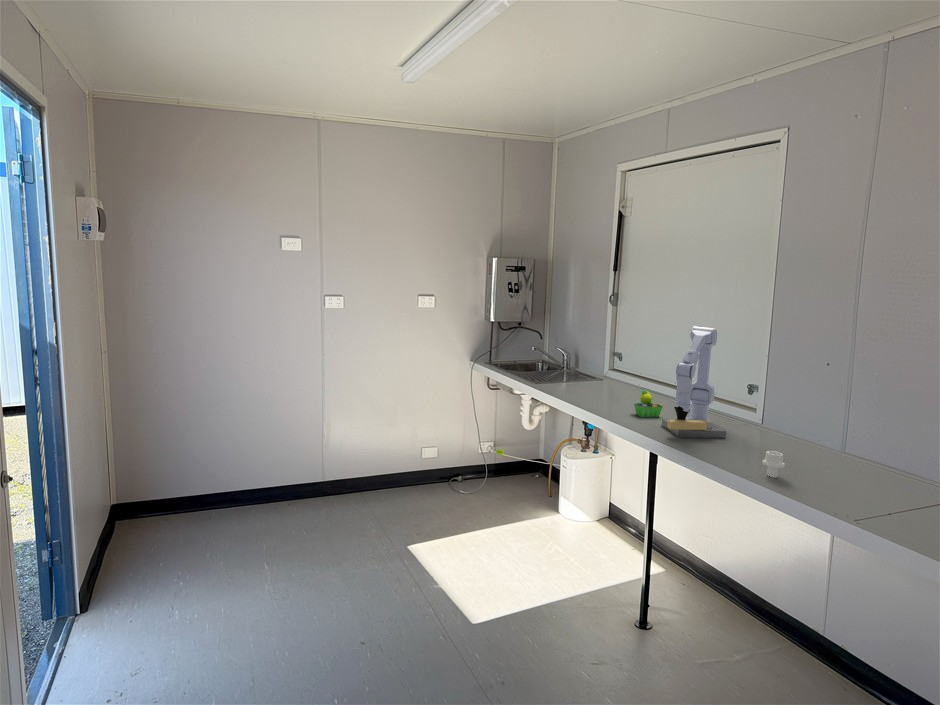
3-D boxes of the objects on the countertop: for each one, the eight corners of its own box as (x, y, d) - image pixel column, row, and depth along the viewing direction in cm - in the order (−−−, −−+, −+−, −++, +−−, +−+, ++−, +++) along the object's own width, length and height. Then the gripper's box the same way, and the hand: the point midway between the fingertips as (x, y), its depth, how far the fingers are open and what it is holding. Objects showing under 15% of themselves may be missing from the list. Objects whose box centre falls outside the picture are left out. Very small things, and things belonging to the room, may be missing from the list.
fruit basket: (640, 418, 286) (642, 393, 285) (631, 413, 295) (633, 389, 293) (662, 417, 289) (665, 393, 287) (653, 412, 297) (655, 389, 296)
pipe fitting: (758, 475, 213) (761, 452, 212) (765, 471, 218) (768, 448, 217) (778, 480, 209) (781, 457, 207) (785, 476, 214) (788, 453, 213)
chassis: (661, 425, 274) (662, 417, 274) (705, 426, 276) (706, 418, 275) (678, 437, 256) (679, 429, 255) (726, 438, 258) (727, 430, 257)
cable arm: (708, 427, 260) (709, 420, 260) (713, 430, 256) (714, 422, 256) (666, 426, 258) (667, 419, 258) (671, 429, 254) (671, 422, 254)
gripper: (698, 396, 250) (694, 429, 252) (689, 389, 264) (686, 420, 266) (680, 395, 251) (676, 428, 253) (672, 388, 265) (669, 419, 267)
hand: (680, 424), depth 260 cm, fingers closed
